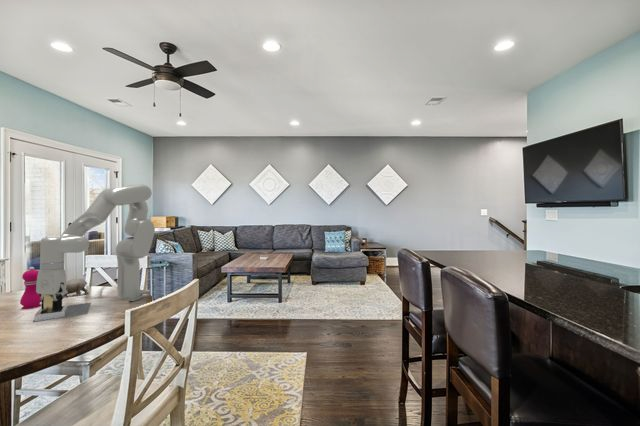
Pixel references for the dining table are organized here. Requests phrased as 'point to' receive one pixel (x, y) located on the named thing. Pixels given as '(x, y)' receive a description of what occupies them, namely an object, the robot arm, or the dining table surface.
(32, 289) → the pepper mill
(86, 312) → the plate
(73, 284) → the rhinoceros figurine
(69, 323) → the dining table surface
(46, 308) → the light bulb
